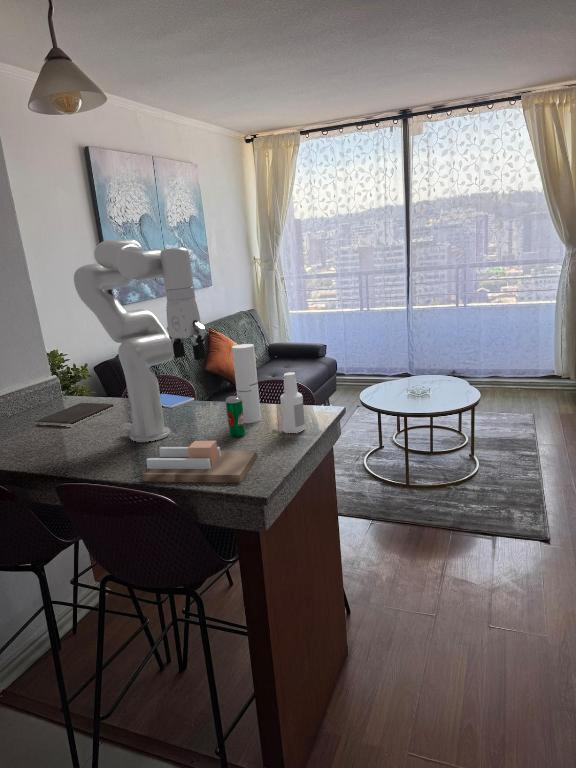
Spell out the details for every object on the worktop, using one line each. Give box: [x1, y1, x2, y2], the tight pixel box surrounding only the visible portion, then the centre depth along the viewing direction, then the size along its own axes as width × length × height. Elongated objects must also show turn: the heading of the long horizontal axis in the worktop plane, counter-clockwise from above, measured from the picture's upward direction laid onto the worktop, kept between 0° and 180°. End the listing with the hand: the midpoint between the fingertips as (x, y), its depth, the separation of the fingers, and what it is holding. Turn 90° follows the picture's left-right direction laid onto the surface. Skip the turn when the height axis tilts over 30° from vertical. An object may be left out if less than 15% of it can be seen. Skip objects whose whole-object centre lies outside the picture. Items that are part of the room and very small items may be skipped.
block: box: [187, 440, 218, 466], centre depth 144 cm, size 6×5×5 cm
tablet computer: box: [160, 393, 195, 409], centre depth 216 cm, size 19×13×1 cm, turn 53°
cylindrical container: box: [231, 343, 262, 424], centre depth 180 cm, size 7×7×25 cm
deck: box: [141, 450, 258, 484], centre depth 145 cm, size 26×16×2 cm, turn 78°
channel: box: [146, 446, 221, 469], centre depth 145 cm, size 17×9×2 cm, turn 78°
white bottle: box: [279, 371, 306, 435], centre depth 167 cm, size 7×7×18 cm
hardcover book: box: [35, 402, 115, 424], centre depth 205 cm, size 16×23×2 cm
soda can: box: [225, 395, 246, 439], centre depth 168 cm, size 5×5×12 cm
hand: (189, 358), depth 151 cm, fingers open, 9 cm apart
